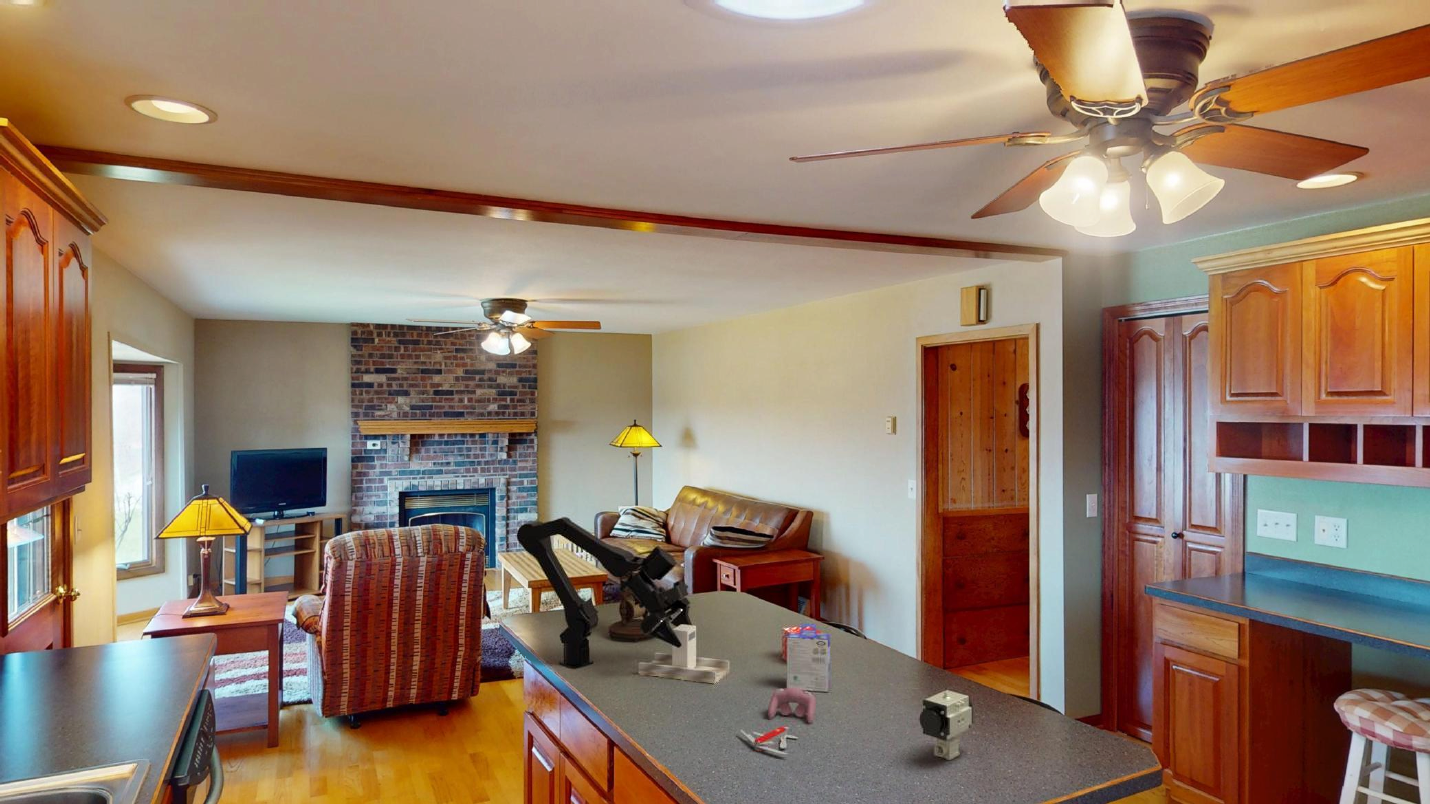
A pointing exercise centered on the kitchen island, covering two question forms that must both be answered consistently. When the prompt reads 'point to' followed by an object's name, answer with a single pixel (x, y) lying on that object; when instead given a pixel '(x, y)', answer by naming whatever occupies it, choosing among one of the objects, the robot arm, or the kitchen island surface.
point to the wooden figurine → (629, 615)
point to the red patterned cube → (785, 634)
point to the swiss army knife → (770, 739)
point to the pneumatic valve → (946, 720)
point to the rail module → (685, 647)
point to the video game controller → (793, 695)
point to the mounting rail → (686, 669)
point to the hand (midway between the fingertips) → (687, 641)
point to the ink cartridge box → (808, 660)
